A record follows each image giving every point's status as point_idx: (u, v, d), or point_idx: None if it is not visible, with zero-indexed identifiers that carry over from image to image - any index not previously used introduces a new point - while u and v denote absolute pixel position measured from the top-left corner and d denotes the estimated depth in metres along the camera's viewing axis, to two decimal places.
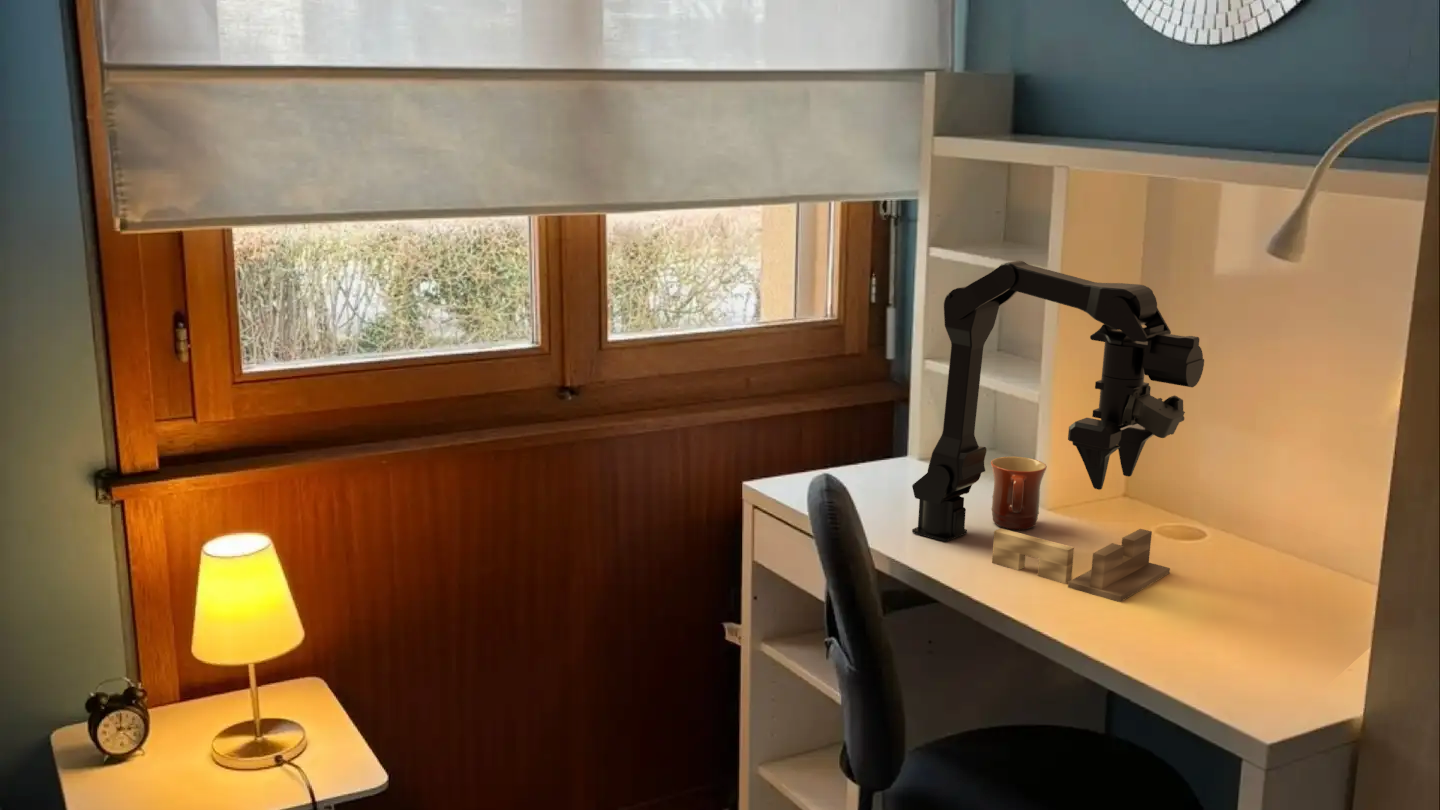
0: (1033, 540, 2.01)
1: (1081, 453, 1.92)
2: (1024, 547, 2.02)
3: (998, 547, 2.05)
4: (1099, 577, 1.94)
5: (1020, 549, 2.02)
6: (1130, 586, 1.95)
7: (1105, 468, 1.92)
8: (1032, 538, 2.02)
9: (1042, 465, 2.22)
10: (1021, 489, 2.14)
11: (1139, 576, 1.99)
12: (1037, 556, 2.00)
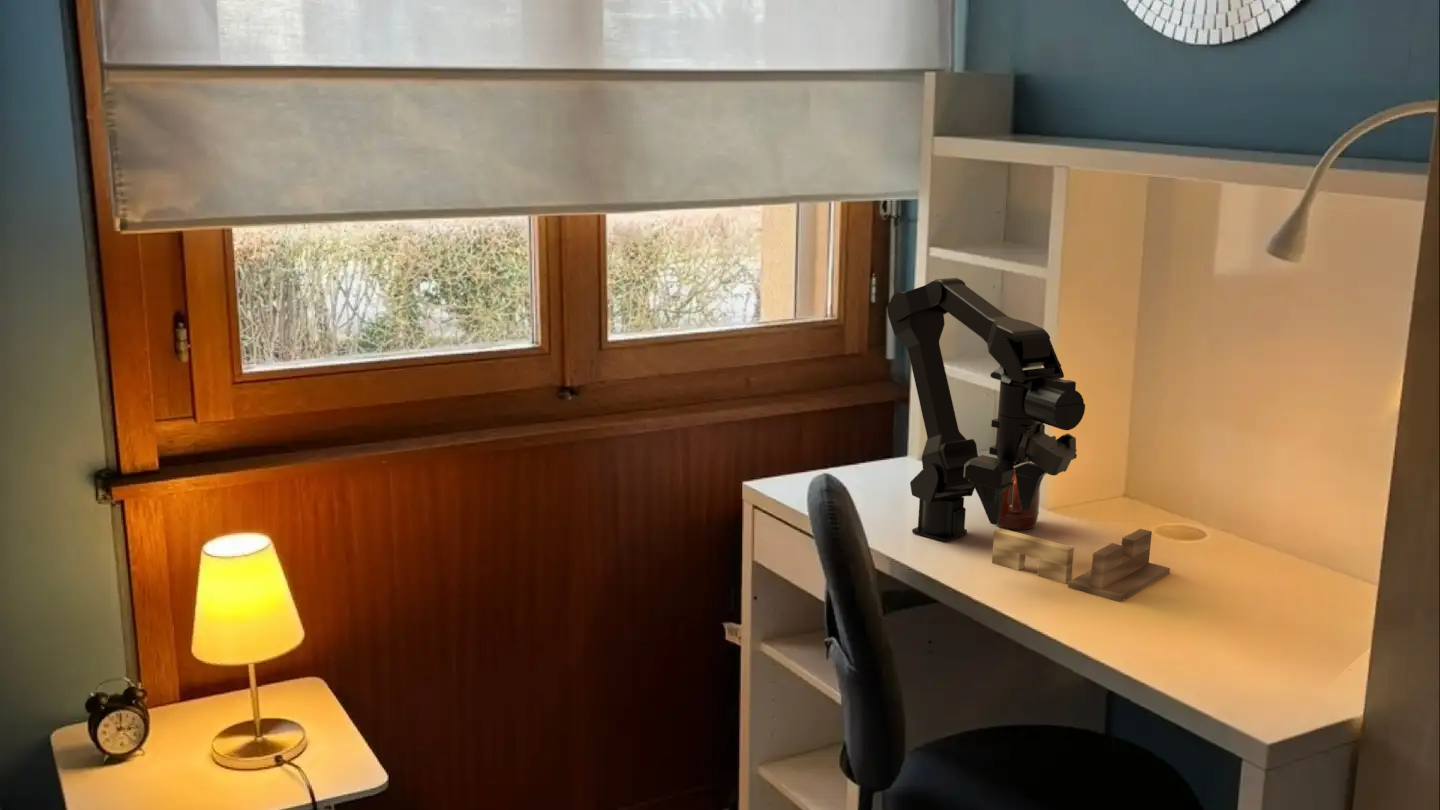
0: (1033, 540, 2.01)
1: (977, 489, 1.99)
2: (1024, 547, 2.02)
3: (998, 547, 2.05)
4: (1099, 577, 1.94)
5: (1020, 549, 2.02)
6: (1130, 586, 1.95)
7: (1000, 504, 1.98)
8: (1032, 538, 2.02)
9: None
10: None
11: (1139, 576, 1.99)
12: (1037, 556, 2.00)
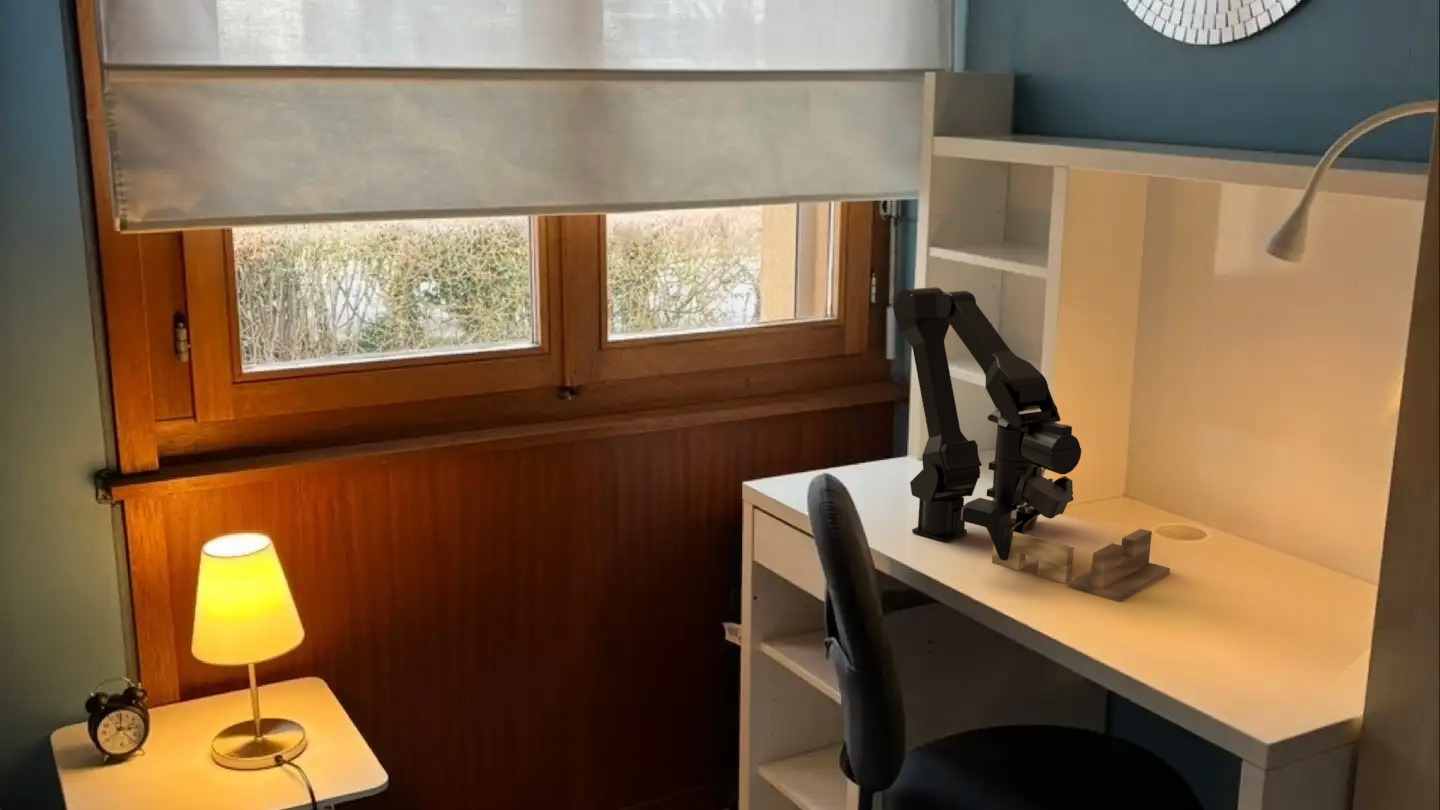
0: (1033, 540, 2.01)
1: (987, 526, 2.03)
2: (1024, 547, 2.02)
3: None
4: (1099, 577, 1.94)
5: (1020, 549, 2.02)
6: (1130, 586, 1.95)
7: (1009, 541, 2.02)
8: (1032, 538, 2.02)
9: None
10: None
11: (1139, 576, 1.99)
12: (1037, 556, 2.00)
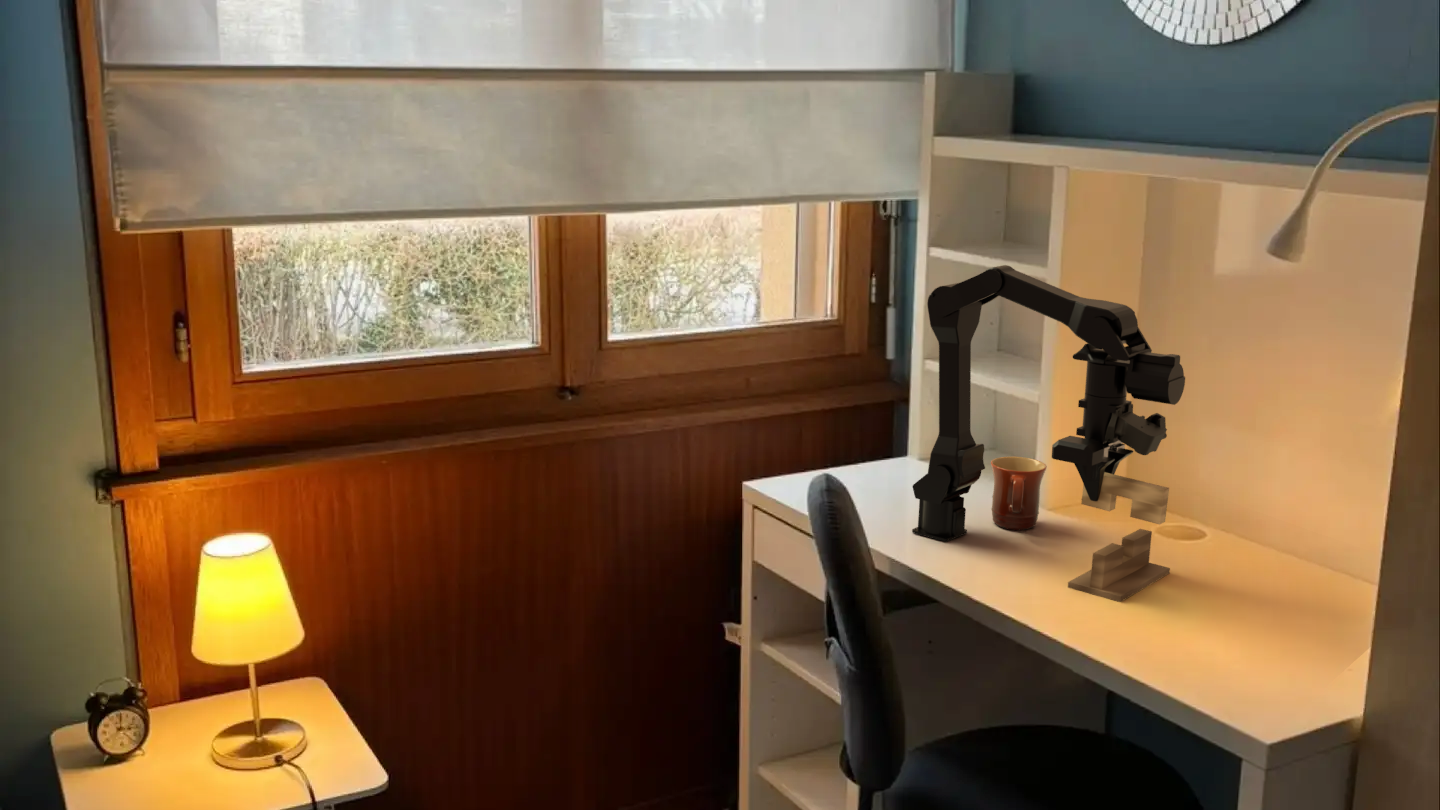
0: (1126, 480, 1.96)
1: (1077, 466, 1.98)
2: (1116, 487, 1.96)
3: None
4: (1099, 577, 1.94)
5: (1112, 490, 1.97)
6: (1130, 586, 1.95)
7: (1101, 480, 1.97)
8: (1124, 478, 1.97)
9: (1042, 465, 2.22)
10: (1021, 489, 2.14)
11: (1139, 576, 1.99)
12: (1130, 497, 1.95)
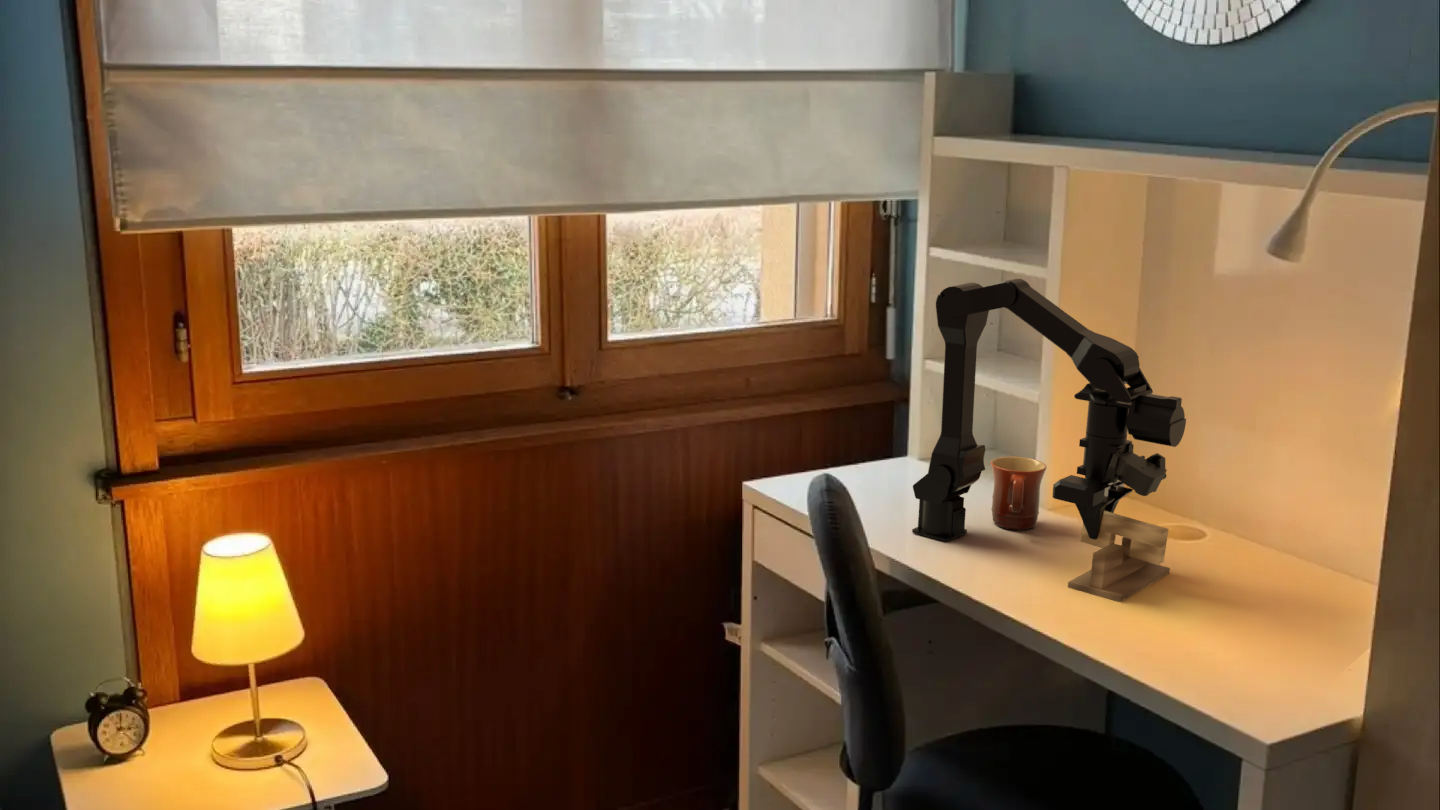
0: (1126, 520, 1.97)
1: (1077, 504, 1.99)
2: (1116, 527, 1.98)
3: None
4: (1099, 577, 1.94)
5: (1111, 529, 1.98)
6: (1130, 586, 1.95)
7: (1100, 519, 1.99)
8: (1124, 517, 1.98)
9: (1042, 465, 2.22)
10: (1021, 489, 2.14)
11: (1139, 576, 1.99)
12: (1129, 536, 1.97)
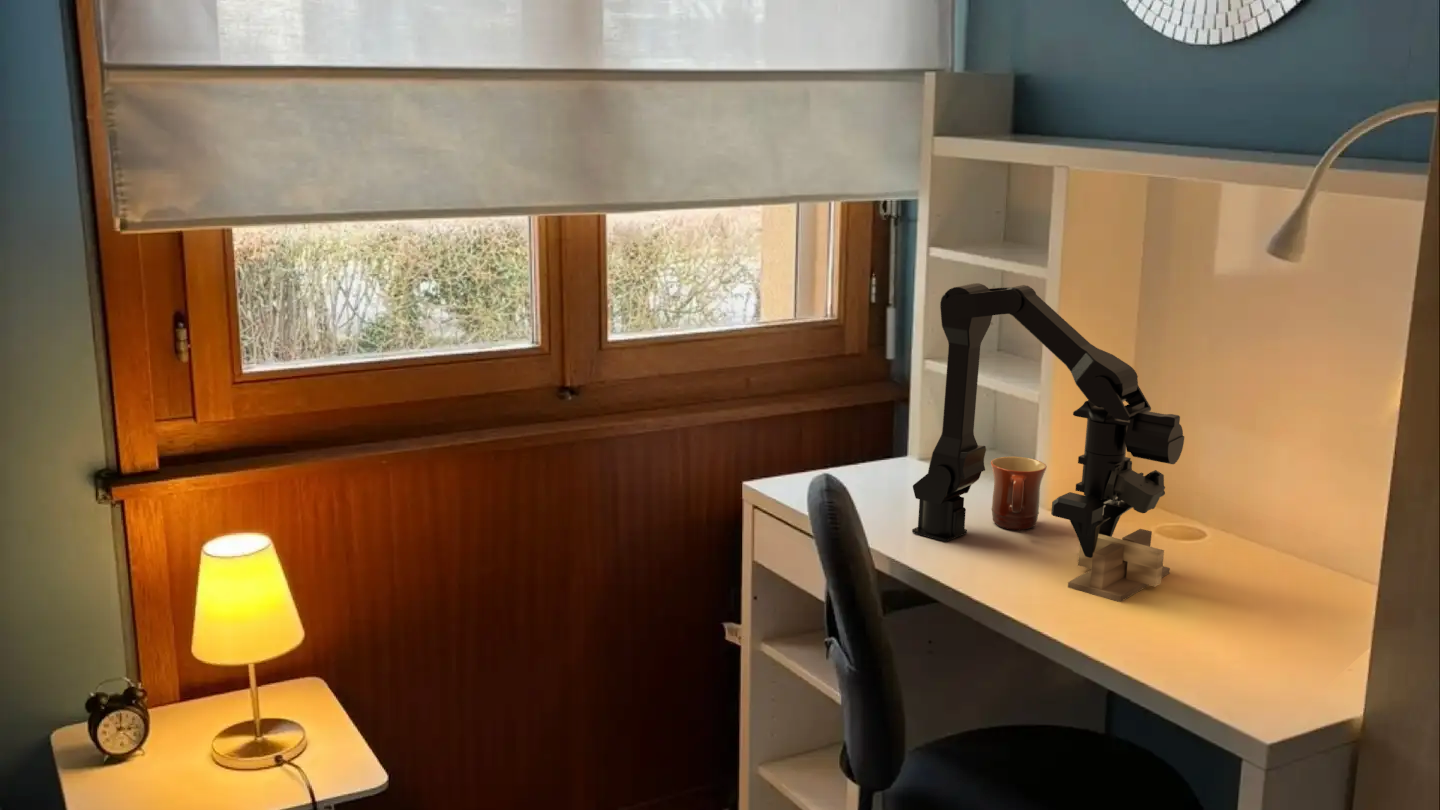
0: (1121, 542, 1.98)
1: (1072, 523, 1.99)
2: None
3: None
4: (1099, 577, 1.94)
5: None
6: (1130, 586, 1.95)
7: (1096, 537, 1.98)
8: (1120, 540, 1.99)
9: (1042, 465, 2.22)
10: (1021, 489, 2.14)
11: None
12: (1126, 559, 1.98)
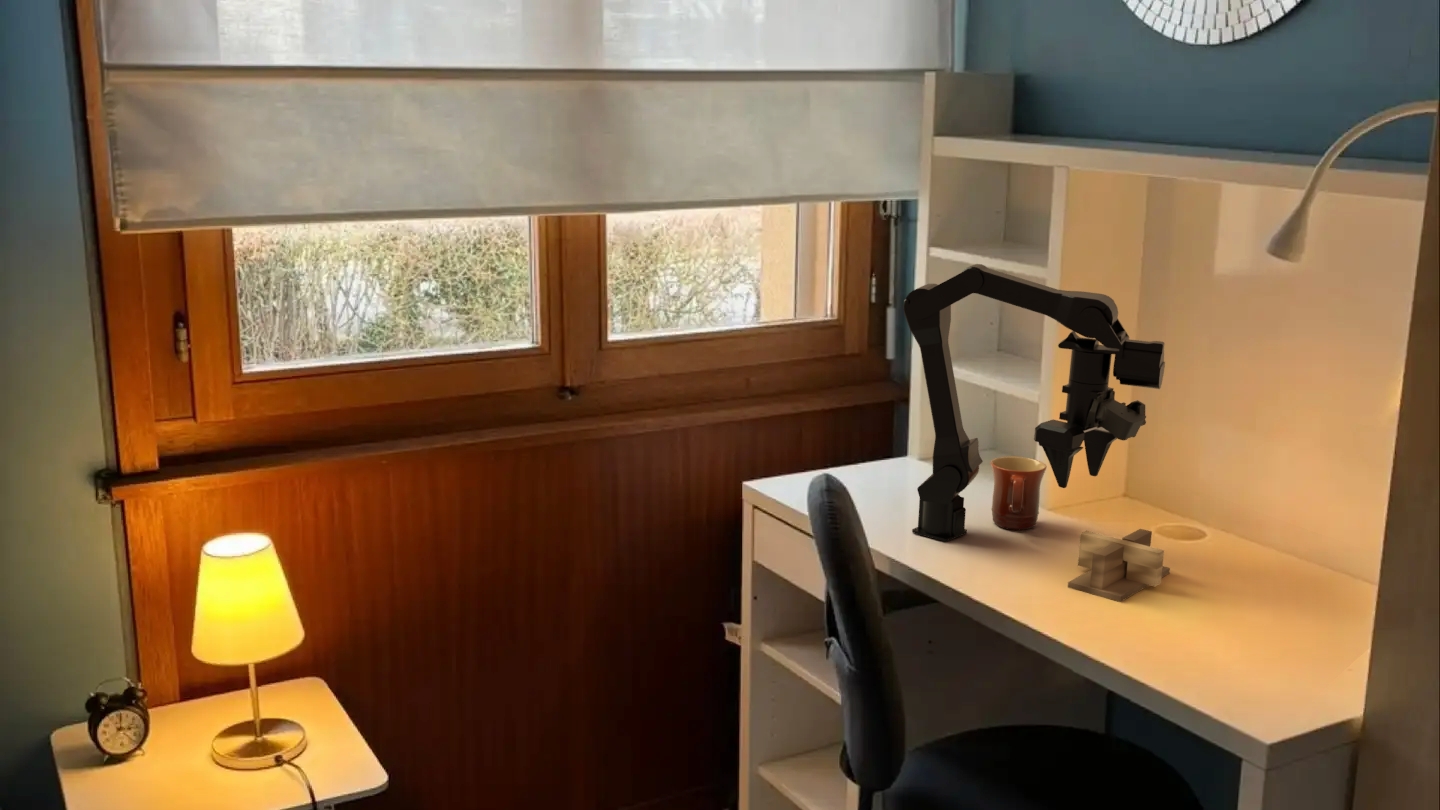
0: (1121, 542, 1.98)
1: (1046, 453, 2.03)
2: None
3: (1084, 550, 2.02)
4: (1099, 577, 1.94)
5: None
6: (1130, 586, 1.95)
7: (1069, 468, 2.02)
8: (1120, 540, 1.99)
9: (1042, 465, 2.22)
10: (1021, 489, 2.14)
11: None
12: (1126, 559, 1.98)
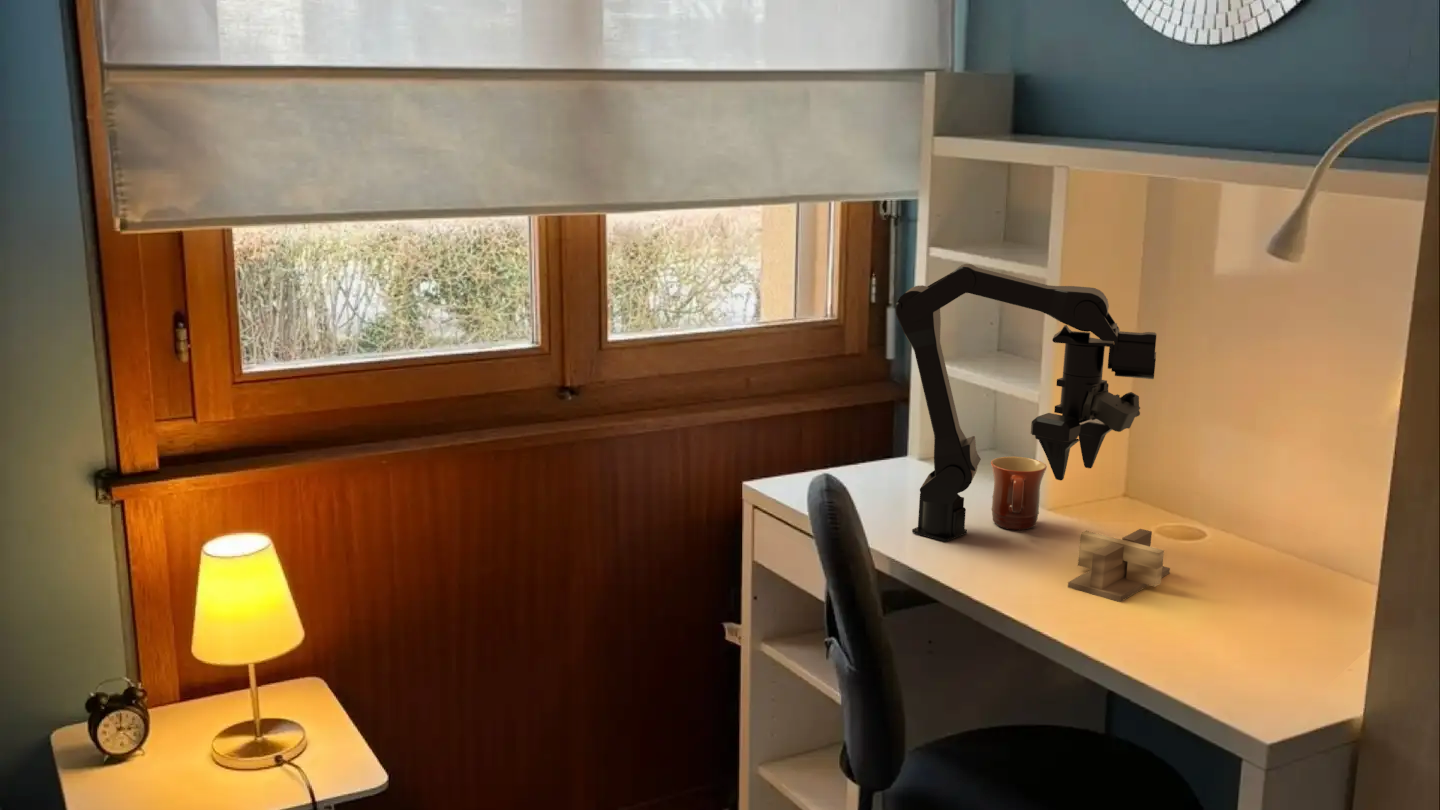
0: (1121, 542, 1.98)
1: (1043, 446, 2.05)
2: None
3: (1084, 550, 2.02)
4: (1099, 577, 1.94)
5: None
6: (1130, 586, 1.95)
7: (1066, 460, 2.05)
8: (1120, 540, 1.99)
9: (1042, 465, 2.22)
10: (1021, 489, 2.14)
11: None
12: (1126, 559, 1.98)
